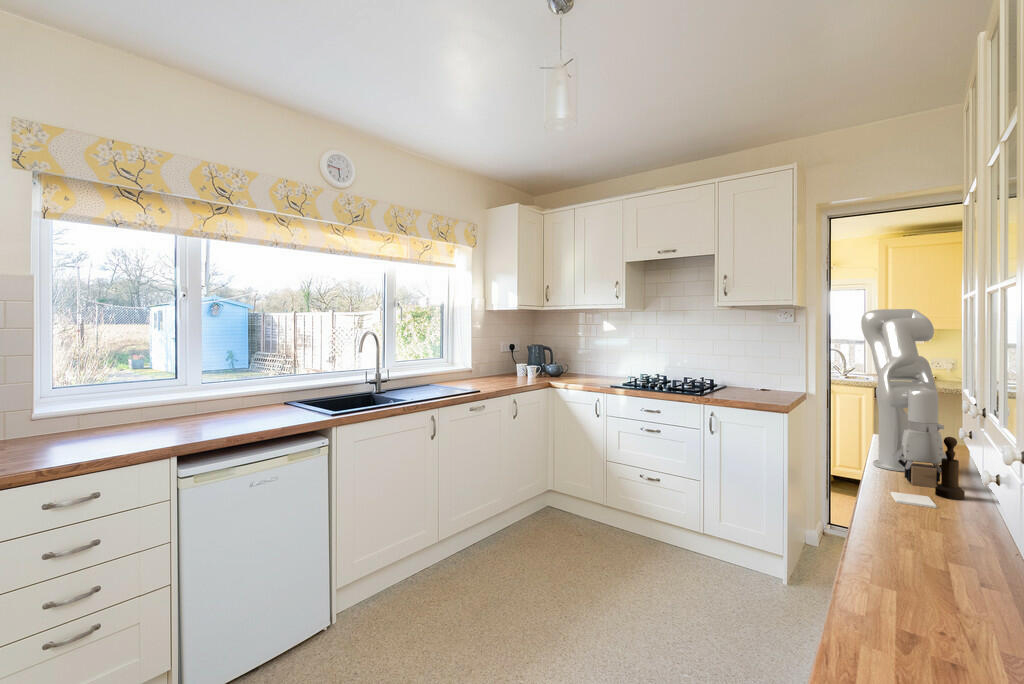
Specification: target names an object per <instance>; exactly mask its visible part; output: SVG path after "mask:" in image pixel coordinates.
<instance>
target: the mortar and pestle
mask: <svg viewBox="0 0 1024 684" xmlns="http://www.w3.org/2000/svg"><path fill="white" fill-rule="evenodd" d="M943 443H944V444H943V445H945V447H946V450H944V454H945V455H946V457H947V458H942V463H941V464H942V467H941V473H940V484H938V485H936V487H935V488H934V490H935V491H934V494H935V495H936V496H938V497H941V498H944V499H949V500H960V501H963V500H964V499H965V497H966V495H965V490H964V489H963V488H961V487H960V486H959V485H960V484H959V481H960V479H959V469H960V468H959V467H960V460H957V459H954V458H955V457H956V452H955V450H954V448H955V447H956V446H957V445H958V441H957V439H956V438H955V437H953V436H946V437H944V439H943Z"/></svg>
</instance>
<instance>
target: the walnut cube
mask: <svg viewBox="0 0 1024 684" xmlns="http://www.w3.org/2000/svg"><path fill="white" fill-rule="evenodd" d="M910 469H911V482H909V483H910V485H911V486H914V487H921V488H922V487H925V488H930V489H931V488H932V489H935V487H936V486H937V485H936V472H937V469H936V468H934V466H933V464H929V463H919V462H917V463H916V462H913V463H912V465H911V466H910Z"/></svg>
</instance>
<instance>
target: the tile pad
mask: <svg viewBox="0 0 1024 684" xmlns="http://www.w3.org/2000/svg"><path fill="white" fill-rule="evenodd" d="M890 495H891V496H892V498H893V500H894V501H895V503H897V504H901V505H902V504H904V505H910V506H917V507H926V508H934V509H937V508H938V506H937V505H936V503H935V502H934V501H933V500H932V499H931V498H930V497H929V496H927V495H919V494H913V493H912V494H910V493H904V492H895V491H890Z"/></svg>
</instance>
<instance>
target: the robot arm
mask: <svg viewBox="0 0 1024 684" xmlns="http://www.w3.org/2000/svg"><path fill="white" fill-rule="evenodd" d="M860 324H861V325H860V326H861V327H860V328H861V331H862V334H863V336H864V339H865V340H866V342H867V344H868V345H869V347H870V351H871V355H872V356H871V357H872V360H873V364H874V365H873V366H874V368H875V371H876V375H877V386H876V388H875V397H876V402H877V407H878V408H877V409H878V458H877V459H875V460H873V462H872V464H873V466H875V467H877V468H880V469H883V470H887V471H888V470H889V471H896V472H904V478H905V479H906V480H907V481H908V482H909V483H910V482H911V469H910V466H911V465H912V463H916V462H917V463H922V464H931V465H932V466H933V467H934V468H936V469H937V472H936V486H938V485H939V483H941V467H942V458H947V457H946V454H945V452H944V444H943V443H944V442H943V438H942V434H941V432H940V430H944V429H945V425H944V424H940V423H939V393H938V389H937V386H936V382H935V379H934V375H933V372H932V367H931V365H930V362H929V361H928V360H927V359H926V358H925V357H924V356H922V355H919V351H918V348H917V343H916V342H929V341H931V340H932V339H933V337H934V335H935V328H934V325H933V323H932V322H931V320H930V319H929V318H928V317H927V316H926V315H924V314H923V313H921V312H920V311H919V310H917V309H912V308H894V309H893V308H885V309H884V308H883V309H873V310H869V311H866V312H864V313H863V315H862V317H861V323H860ZM905 409H907V412H906V411H905Z"/></svg>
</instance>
